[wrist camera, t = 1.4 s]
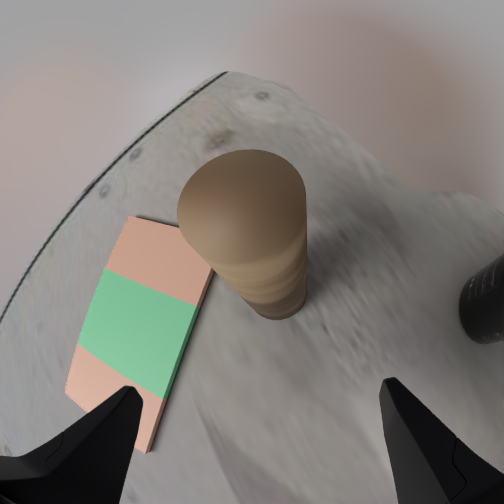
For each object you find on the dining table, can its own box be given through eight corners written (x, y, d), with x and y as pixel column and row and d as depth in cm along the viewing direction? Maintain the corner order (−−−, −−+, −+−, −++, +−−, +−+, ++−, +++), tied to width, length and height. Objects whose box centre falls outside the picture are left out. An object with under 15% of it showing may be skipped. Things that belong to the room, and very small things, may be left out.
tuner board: (149, 452, 19) (145, 454, 18) (69, 392, 22) (64, 392, 21) (225, 242, 25) (222, 238, 25) (132, 218, 29) (129, 215, 28)
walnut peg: (296, 327, 21) (283, 278, 9) (239, 309, 23) (156, 242, 10) (313, 270, 23) (318, 159, 10) (258, 256, 24) (207, 144, 12)
